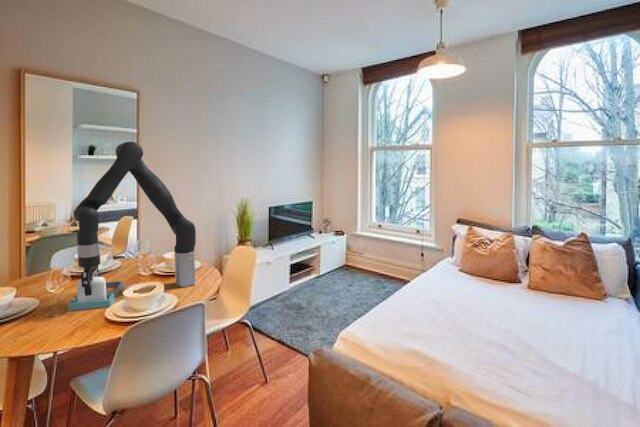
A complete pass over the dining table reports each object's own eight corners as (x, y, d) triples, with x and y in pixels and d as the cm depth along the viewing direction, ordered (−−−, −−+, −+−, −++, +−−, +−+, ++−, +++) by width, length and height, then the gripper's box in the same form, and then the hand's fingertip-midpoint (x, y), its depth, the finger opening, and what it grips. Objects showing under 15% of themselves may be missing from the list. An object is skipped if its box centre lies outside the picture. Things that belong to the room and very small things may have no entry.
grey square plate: (123, 285, 162) (123, 280, 161) (116, 297, 148) (115, 292, 148) (87, 288, 157) (87, 283, 156) (77, 300, 143) (76, 295, 143)
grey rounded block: (107, 301, 144) (105, 274, 142) (106, 304, 140) (105, 277, 138) (78, 305, 138) (76, 277, 137) (77, 309, 135) (74, 280, 133)
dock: (114, 299, 145) (114, 293, 145) (110, 306, 138) (109, 300, 138) (75, 303, 140) (74, 296, 140) (68, 311, 133) (68, 304, 133)
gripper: (94, 258, 131) (97, 297, 133) (104, 249, 144) (106, 284, 146) (71, 259, 128) (75, 299, 131) (83, 250, 141) (86, 286, 144)
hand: (91, 291), depth 138 cm, fingers open, 8 cm apart
